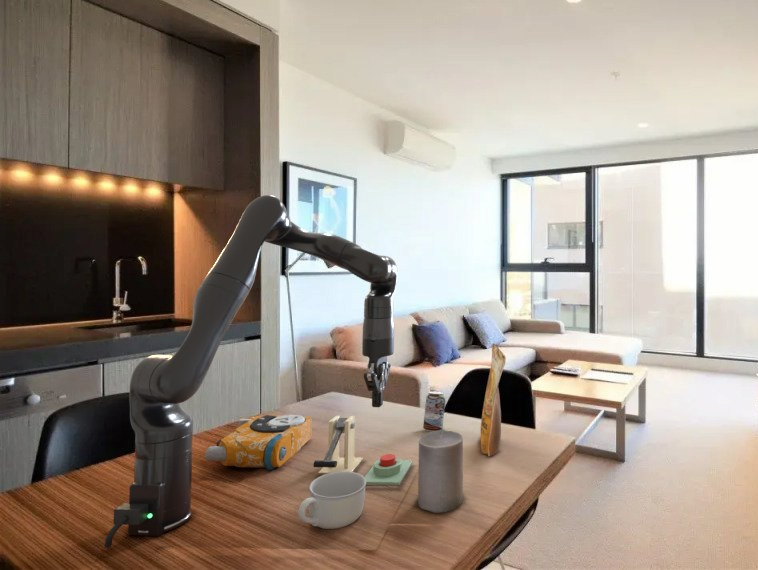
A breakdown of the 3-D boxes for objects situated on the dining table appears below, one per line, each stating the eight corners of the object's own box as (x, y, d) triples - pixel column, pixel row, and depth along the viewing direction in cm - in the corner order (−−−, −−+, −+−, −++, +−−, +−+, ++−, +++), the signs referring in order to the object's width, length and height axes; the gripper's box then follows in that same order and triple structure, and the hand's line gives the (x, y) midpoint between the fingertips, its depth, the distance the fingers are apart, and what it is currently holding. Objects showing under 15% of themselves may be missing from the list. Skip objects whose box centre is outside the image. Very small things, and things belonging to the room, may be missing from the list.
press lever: (335, 470, 106) (333, 463, 104) (314, 469, 106) (312, 463, 105) (354, 424, 117) (352, 417, 116) (335, 424, 117) (333, 417, 116)
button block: (399, 489, 104) (399, 474, 105) (360, 489, 105) (360, 473, 105) (412, 466, 116) (412, 453, 117) (377, 466, 117) (377, 452, 117)
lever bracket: (350, 477, 110) (351, 424, 111) (317, 477, 111) (318, 424, 111) (363, 462, 119) (364, 412, 120) (333, 461, 120) (334, 412, 120)
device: (184, 443, 111) (252, 405, 141) (183, 477, 111) (252, 432, 141) (277, 442, 111) (326, 405, 141) (277, 476, 111) (325, 432, 141)
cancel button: (392, 467, 109) (392, 460, 109) (378, 467, 109) (378, 460, 109) (397, 461, 112) (397, 454, 112) (382, 461, 113) (382, 453, 113)
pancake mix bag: (502, 432, 141) (502, 342, 142) (505, 458, 122) (506, 353, 123) (480, 433, 140) (480, 342, 141) (480, 459, 121) (481, 353, 122)
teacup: (347, 502, 99) (348, 465, 99) (376, 520, 92) (377, 480, 92) (281, 531, 88) (282, 489, 88) (309, 554, 81) (309, 508, 81)
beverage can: (419, 433, 140) (419, 394, 140) (430, 425, 147) (430, 388, 147) (438, 435, 138) (438, 396, 138) (448, 427, 145) (448, 389, 145)
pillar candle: (457, 488, 105) (458, 422, 106) (466, 509, 96) (467, 437, 96) (415, 494, 102) (416, 427, 103) (420, 517, 93) (421, 442, 94)
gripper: (373, 332, 119) (371, 398, 119) (352, 339, 106) (351, 414, 105) (401, 332, 119) (400, 399, 118) (384, 339, 106) (383, 415, 105)
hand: (377, 406), depth 112 cm, fingers closed
